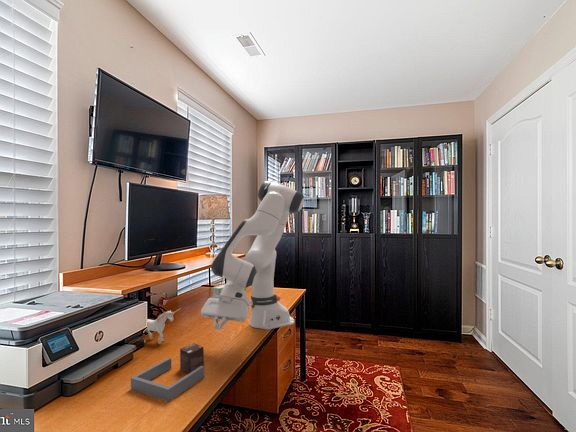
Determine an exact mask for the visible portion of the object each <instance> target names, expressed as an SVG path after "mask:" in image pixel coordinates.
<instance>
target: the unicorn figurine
mask: <svg viewBox="0 0 576 432" xmlns="http://www.w3.org/2000/svg"><path fill="white" fill-rule="evenodd" d="M181 309H182V307H180V308H179V309H176V310H175V311H172V310H171V309H170V310H168V311H163V313H161V314H160V315H159V316H157V318H156V319H149V318H147V328H146V329H145V330H144V331H143V333H144V334H145V332H146V333H148V337H149V339H150V341H151V340H152V341H153V337H154V336H153V333H152V332H157V333H158V334H159V335H158V336H157V338H158V339H157V344H158V345H160V344H161V343H162V342H164V341H165V340H164V333H163V331H164V329H165V327H166V324H165V323H166V321H167V319H168V320H169V322H173V321H174V314H175V313H177V312H179V311H180V310H181ZM145 343H147V341H146V339H144V343H143V344H145Z"/></svg>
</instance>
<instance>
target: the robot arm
mask: <svg viewBox="0 0 576 432" xmlns="http://www.w3.org/2000/svg"><path fill="white" fill-rule="evenodd" d="M257 197H258V200H259V201H260V203H259V204H258V206H257V209H256V210H255V213H254V214H253V215H252V216H251V217H249V218H245V219H244V220H243V221H242V222H241V223H239V225H238V226H237V228H236V229H235V231H234V232H233V233H232V234H231V235H230V237H229V239H228V240H227V242H226V243H225V244H224V246H223V247H222V248H221V250H220V251H219V252H218V253H217V254H216V255H215V256H214V257H213V259H212V261H211V264H210V269H211V271H212V273H213V275H214V276H217V277H220V278H224V279H226V282H225V284H224V285H225V286H224V287H223V289H222V291H221V294H220V296H213V295H211V297H208V299H207V300H206V301H205V303H204V304H203V307H202V308H201V310H200V314H201V316H202V317H203V318H206V319H207V318H208V319H213V326H212V327H213V328H212V329H213V330H218V331H221V330H222V329H223V327H224V326H225V325H226V324H227V323H228V321H230V322H231V321H233V322H241V323H245V321H246V320H247V318H248V315H249V311H250V308H251V311H250V312H251V313H250V317H249V324H248V325H249V326H250V327H252V328H256V329H263V330H265V331H266V330H273V329H277V328H280V327H281V328H282V327H286V326H290V325H294V324H295V319H294V318H293V317H292V316H291V315H290V312H289V310H288V308H287V307H286V306H285V305H283V304H282V303H280V302H279V301H280V300H281V297H280V296H279V295H277V294H275V291H274V286H275V285H274V283H275V282H274V277H275V269H276V260H277V250H276V248H277V246H278V244H279V242H280V240H281V239H282V236H283V233H284V231H285V228H286V226H287V222H288V219H289V216H290V215H292V214H297V213H299V212H300V210H302V208H303V207H304V204H305V196H304V194H303V193H302V192H300V191H299V190H296V189H293V188H291V187H290V186H287V185H283V184H280V183H276V182H274V181H271V180H265V181H263V182H262V183H261V184H260V186H259V187H258V191H257ZM247 236H256V237H255V238H254V241H253V242H252V244H251V247H250V248H249V250H248V252H247V253H246V255H245V259H242V258H240V257H238V256H235V255H234V254H232V252H233V251H234V249H235V248H236V247H237V245H238V244H239V242H240V241H241V239H243V238H244V237H247ZM249 287H251V295H250V299H249V298H248V296H247V294H246V295H245V294H243V291H244V289H245V288H246V289H247V288H249Z"/></svg>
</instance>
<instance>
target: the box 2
mask: <svg viewBox="0 0 576 432" xmlns="http://www.w3.org/2000/svg"><path fill="white" fill-rule="evenodd" d="M204 351H205V350H204V346H201V345H199V344H197V343H194V342H193V343H192V344H189V345H186V346H184V347H181V348H179V359H180V360H179V361H180V362H179V365H180V370H182V371H184V372H186V373H188V374H189V373H191V372H192V371H194V370H196V369H197V368H199V367H200V366H204V367H205V357H204V356H205V355H204V354H205V353H204Z"/></svg>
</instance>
